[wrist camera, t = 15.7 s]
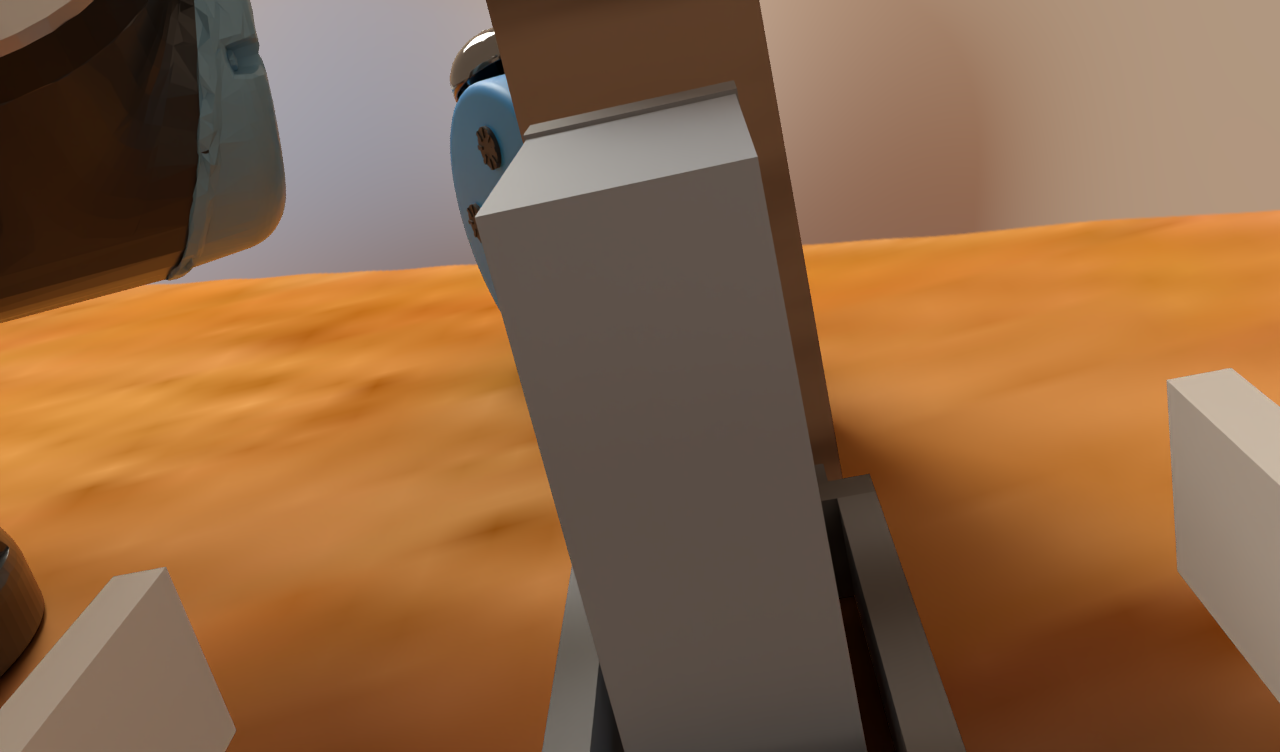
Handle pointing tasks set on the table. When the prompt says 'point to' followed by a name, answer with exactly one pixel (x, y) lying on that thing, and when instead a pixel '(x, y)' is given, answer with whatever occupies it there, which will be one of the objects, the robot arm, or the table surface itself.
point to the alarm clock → (480, 133)
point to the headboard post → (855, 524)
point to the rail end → (674, 424)
